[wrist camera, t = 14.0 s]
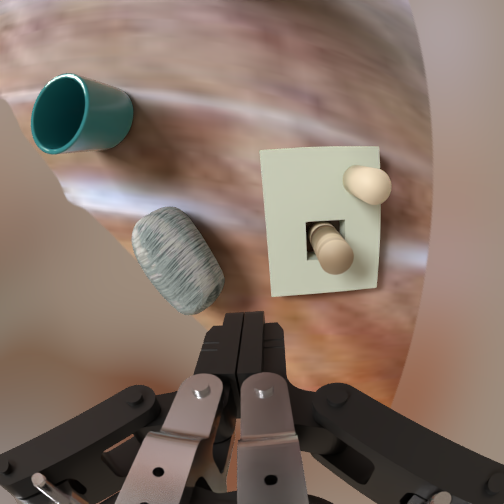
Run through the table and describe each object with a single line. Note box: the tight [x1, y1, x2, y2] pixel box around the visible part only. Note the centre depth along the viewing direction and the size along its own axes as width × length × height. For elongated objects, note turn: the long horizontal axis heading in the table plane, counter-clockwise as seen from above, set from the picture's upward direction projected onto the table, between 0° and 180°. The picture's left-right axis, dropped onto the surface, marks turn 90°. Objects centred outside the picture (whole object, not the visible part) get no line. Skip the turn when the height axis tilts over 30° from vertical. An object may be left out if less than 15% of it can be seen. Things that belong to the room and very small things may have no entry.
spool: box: [132, 207, 225, 315], centre depth 35 cm, size 14×10×10 cm
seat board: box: [259, 146, 391, 297], centre depth 32 cm, size 18×14×9 cm
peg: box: [308, 221, 354, 275], centre depth 32 cm, size 4×4×9 cm
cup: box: [31, 73, 133, 154], centre depth 27 cm, size 9×12×11 cm
